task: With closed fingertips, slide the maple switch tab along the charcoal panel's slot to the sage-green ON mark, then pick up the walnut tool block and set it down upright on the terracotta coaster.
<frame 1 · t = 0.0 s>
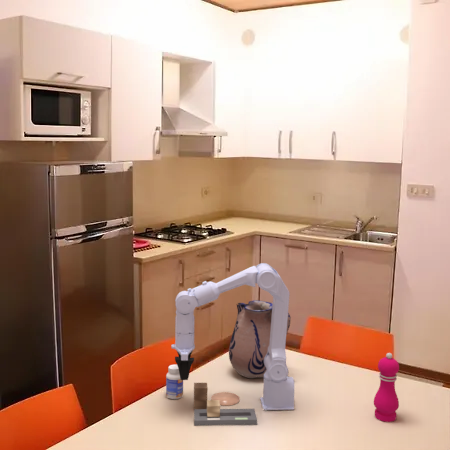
hand: (184, 374, 174), 10 cm above the table, tool pointing down, fingers open, 7 cm apart
tool block: (200, 407, 175), on the table
pill bottle: (174, 396, 182), on the table
coaster: (225, 399, 180), on the table
switch panel: (225, 419, 167), on the table
ceramic pitcher: (258, 374, 201), on the table
switch tab: (213, 408, 166), point 3 cm above the table, slide at 0.0 cm
pepper mill: (385, 417, 171), on the table
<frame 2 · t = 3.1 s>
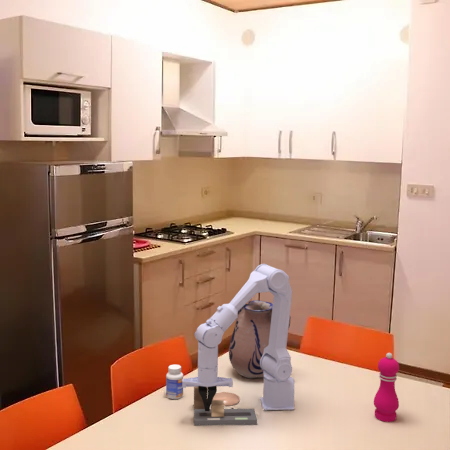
hand: (207, 409, 166), 3 cm above the table, tool pointing down, fingers closed
switch tab: (217, 408, 167), point 3 cm above the table, slide at 1.2 cm, touching gripper
everything else where it was.
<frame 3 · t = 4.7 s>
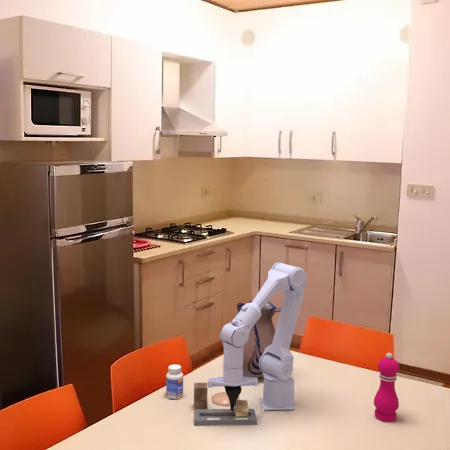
hand: (232, 409, 167), 3 cm above the table, tool pointing down, fingers closed
switch tab: (241, 408, 167), point 3 cm above the table, slide at 8.3 cm, touching gripper
everything else where it was.
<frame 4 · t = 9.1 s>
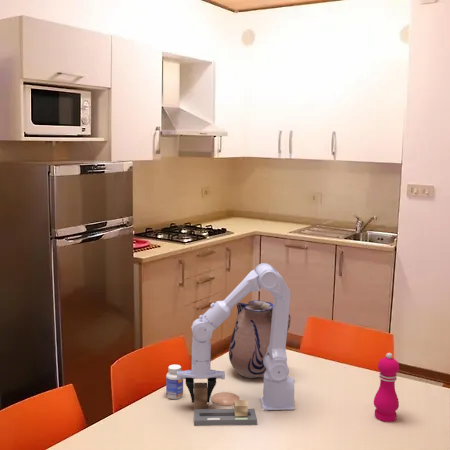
hand: (200, 401, 174), 2 cm above the table, tool pointing down, fingers closed on tool block, 4 cm apart
tool block: (200, 407, 175), on the table, touching gripper
switch tab: (240, 408, 167), point 3 cm above the table, slide at 8.0 cm
everything else where it was.
when the fingers open (4 cm above the table, at t = 13.5 s): tool block drops 1 cm, resting on coaster.
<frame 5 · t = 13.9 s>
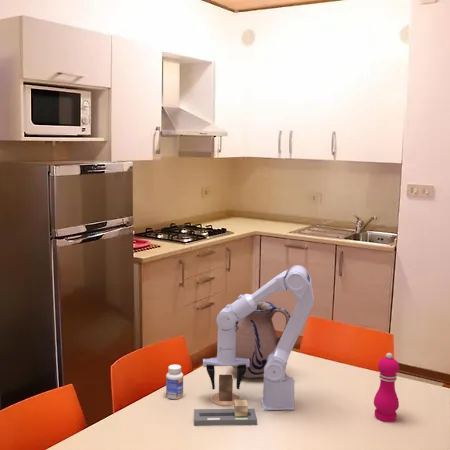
hand: (225, 388, 180), 4 cm above the table, tool pointing down, fingers open, 7 cm apart
tool block: (225, 398, 180), resting on coaster
everything else where it was.
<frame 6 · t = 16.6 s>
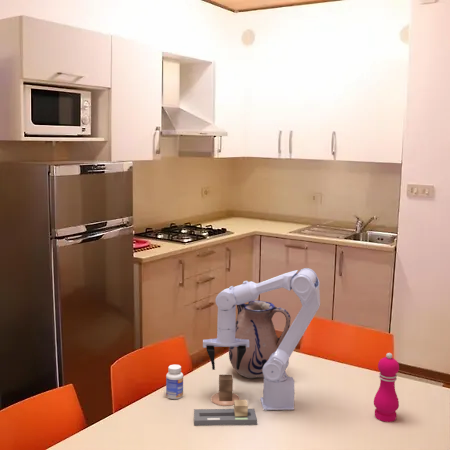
hand: (225, 368, 181), 9 cm above the table, tool pointing down, fingers open, 7 cm apart
nothing on the table moved.
at the end: switch tab slide at 8.0 cm; tool block 0.0 cm from the coaster (horizontally); tool block tilted 0° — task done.
